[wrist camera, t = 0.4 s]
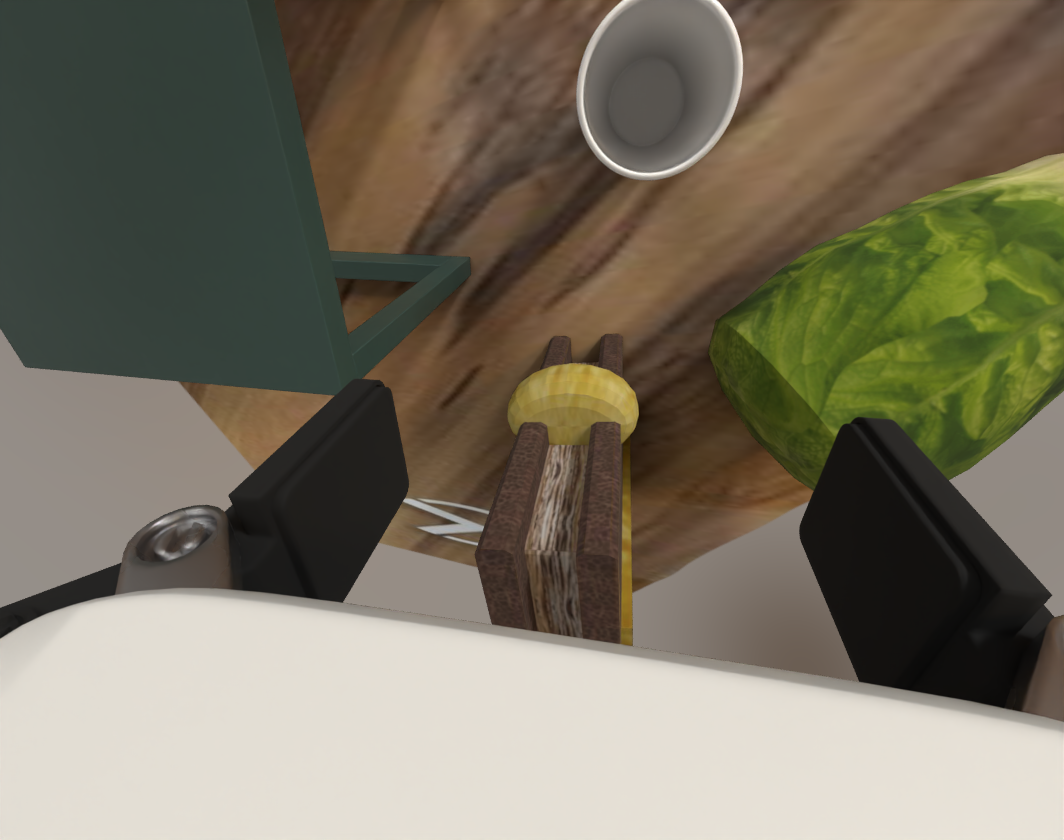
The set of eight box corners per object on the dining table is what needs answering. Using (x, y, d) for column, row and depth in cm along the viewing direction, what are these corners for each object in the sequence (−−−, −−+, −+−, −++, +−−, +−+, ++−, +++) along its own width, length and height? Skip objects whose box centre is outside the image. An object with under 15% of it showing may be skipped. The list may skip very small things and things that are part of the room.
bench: (195, -36, 32) (-368, -247, 14) (449, -49, 29) (165, -331, 11) (279, 265, 42) (24, 367, 24) (471, 274, 40) (343, 396, 22)
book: (634, 504, 50) (640, 774, 29) (556, 501, 52) (508, 755, 31) (635, 302, 39) (646, 507, 18) (534, 307, 40) (436, 500, 19)
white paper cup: (603, 172, 34) (589, 199, 22) (586, 60, 31) (558, 14, 18) (700, 147, 32) (747, 160, 20) (693, 24, 29) (744, -53, 16)
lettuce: (966, 200, 36) (1200, 344, 28) (709, 386, 44) (837, 543, 36) (1044, -10, 23) (1536, 154, 15) (652, 311, 30) (839, 537, 22)
